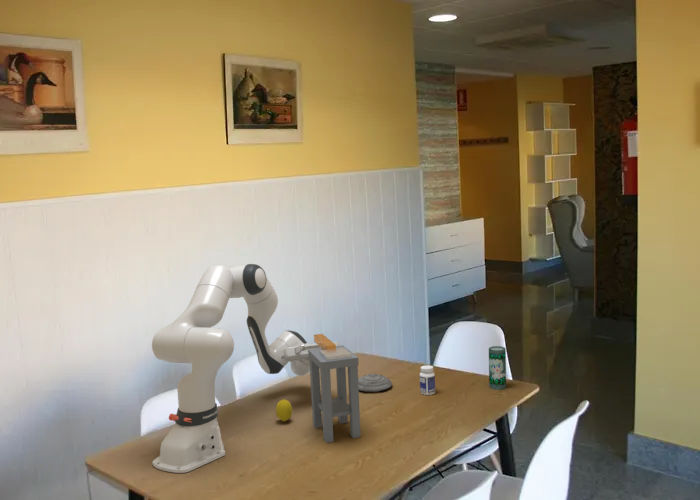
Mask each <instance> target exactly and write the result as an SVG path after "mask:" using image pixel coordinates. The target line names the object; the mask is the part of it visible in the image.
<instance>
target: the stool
mask: <svg viewBox="0 0 700 500" xmlns="http://www.w3.org/2000/svg"><path fill="white" fill-rule="evenodd" d="M336 348H345V349H346V350H347V351H348V352H350V353H351V358H344V359H337V360H329V361H326V360H325V359H324V358H323V357H322V356H321V355H320V351H321V350H323V349H322V348H317V349H310V350H308V357H309V358H310V373H309V374H310V377H309V378H310V392H311V393H310V395H311V396H310V397H311V414H312V415H311V416H312V426H313V427H314V429H318V428H322V430H323V431H322V432H323V433H322V434H323V441H324V442H325V443H326V444H327V443H334V429H333V428H334V427H333V426H334V424H333V423H334V421H333V418H337V417H338V423H340V424H347V423H349V429H350V431H349V432H350V437H351V438H352V439H356V438H361V416H360V415H361V414H360V390H359V387H358V378H359V367H358V366H359V362H360V361H359V356H357V355H356V354H354V353H353V352H352V351H351V350H350V349H349V348H347V347H346V346H344V345H343V344H342V345H339V346H336ZM346 368H347V370H346ZM331 370H336V371H335V372H336V373H335V374H336V390H337V391H336V392H337V393H336V394H337V396H336V398H332V381H331ZM346 371H347V372H346ZM346 373H347V374H346ZM347 383H348V395H347ZM347 397H348V398H347ZM348 401H349V402H348ZM348 417H349V418H348Z"/></svg>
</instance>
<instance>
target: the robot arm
mask: <svg viewBox="0 0 700 500" xmlns="http://www.w3.org/2000/svg"><path fill="white" fill-rule="evenodd" d="M240 298H243V299H244V301H245V303H246V307H247V318H246V326H247V328H248V331H249V335H250V338H251V340H252V343H253V347H254V349H255V352H256V355H257V360H258V361H257V362H258V364H259V366H260V368H261V369H262V370H263V371H264V372H265V373H266V374H267V375H268V374H269V375H274V374H275V375H276V374H279V373H280V372H281V371H282V370H283V369H284V368H285V366H286V365H287V364H288V363H290V369H291V372H292V373H294V374H295V375H297V376H302V377H303V376H306V375H308V374H310V358H309V357H308V350H310V349H317V348H321V347H320V346H319V345H317V344H316V343H311V342H309V343H308V342H307V340H306V339H305V338H304V337H303V336H302V335H301V334H300V333H299V332H297V331H296V330H295V331H294V330H289V329H288V330H287V329H286V330H284V331H283V332H282V333H281V334H279V336H278V337H276V338H275V339H274V341H273V342H271V343H270V344H269V343H268V339H267V337H266V328H267V326H268V323H269V322H270V320H271V318H272V316H273V315H274V314H275V312H276V309H277V308H278V303H279V298H278V296H277V292H276V291H275V289H274V287H273V285H272V283H271V282H270V280H269V279H268V277H267V274H266V272H265V270H264V268H262V267H261V266H260V265H258V264H253V263H249V264H239V265H229V266H225V265H221V264H213V265H211V266H209V267H208V268H207V269H206V270H205V271H204V273H203V275H201V278H200V279H199V282H198V284H197V285H196V287H195V290H194V292H193V295H192V297H191V299H190V302H189V304H188V305H187V307H186V308H185V310H184V311H183V312H182V313H181V314H180V315H179V317H177V318H176V319H175V320H174V321H173V322H171V323H169V324H168V325H167V326H165V327H163V328H160V329H159V330H157V331H156V332H155V334H154V336H153V338H152V341H151V349H152V352H153V354H154V357H156V359H158V360H161V361H164V362H168V363H173V364H189V365H190V364H191V372H190V373H187V374H186V375H185V376H183V377H182V378H181V379H180V380H179V382H178V384H177V388H176V389H177V404H178V407H177V410H176V413H175V414H174V413H170V414H169V416H168V420H169V421H173V422H174V425H172V427H171V429H170V430H169V432H168V433H167V435H166V436H165V437H164V439H162V442H161V443H160V449H159V452H160V453H159V456H157V457H155V458H154V459H153V460H152V466H153V467H154V468H156V469H157V470H160V471H164V472H168V473H176V474H180V473H181V474H183V473H184V474H185V473H188V472H191V471H193V470H196V469H197V468H199V467H202V466H205V465H206V464H209V463H211V462H213V461H216V460H217V459H221V457H224V456H226V450H225V445H224V443H223V440H222V435H221V429H220V426H219V421H218V418H217V417H218V416H219V412H218V411H219V409H218V404H217V403H216V389H215V388H216V379H217V378H216V377H217V374H218V372H219V370H220V369H221V367H222V366H223V365H224V364H226V362H227V361H229V359H230V358H231V357H232V355H233V353H234V348H235V341H234V338H233V336H232V335H231V333H230V332H229V331H228V330H226V329H220V328H216V327H215V326H216V325H218V324H219V323H220V322H221V320H222V319H223V316H224V314H225V311H226V308H227V306H228V303H229V300H230V299H240ZM332 342H333V343H334V344H335V345H336V346H340V343H339V341H332Z"/></svg>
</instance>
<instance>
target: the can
mask: <svg viewBox="0 0 700 500" xmlns="http://www.w3.org/2000/svg"><path fill="white" fill-rule="evenodd" d="M506 353H507V349H506V347H504V346H501V345H493V346H490V347H488V386H489V387H488V388H489V389H492V390H498V391H499V390H505V389H506V388H507V363H506V362H507V354H506Z"/></svg>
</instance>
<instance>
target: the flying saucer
mask: <svg viewBox="0 0 700 500" xmlns="http://www.w3.org/2000/svg"><path fill="white" fill-rule="evenodd" d="M392 386H393V383H392V380H391V379H389V378H388V377H387V376H385V375H382V374H378V373H369V374H365V375H362V376H360V377H358V387H359V391H362V392H368V393H370V392H372V393H373V392H374V393H375V392H380V391H381V392H382V391H385V390H388V389H389V388H391V387H392Z"/></svg>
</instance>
